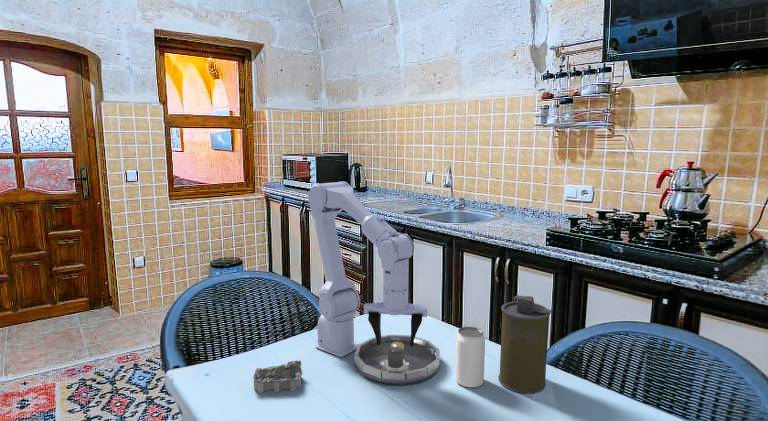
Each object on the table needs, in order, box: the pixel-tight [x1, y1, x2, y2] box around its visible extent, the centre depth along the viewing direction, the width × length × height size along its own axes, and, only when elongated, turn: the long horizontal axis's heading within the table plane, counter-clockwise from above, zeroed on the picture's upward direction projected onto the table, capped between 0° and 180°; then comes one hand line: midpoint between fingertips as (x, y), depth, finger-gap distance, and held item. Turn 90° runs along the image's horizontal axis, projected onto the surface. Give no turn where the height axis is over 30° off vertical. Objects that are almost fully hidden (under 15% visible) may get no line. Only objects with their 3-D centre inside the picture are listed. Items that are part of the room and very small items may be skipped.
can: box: [454, 326, 486, 389], centre depth 104 cm, size 6×6×12 cm
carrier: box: [353, 334, 441, 387], centre depth 113 cm, size 21×21×5 cm
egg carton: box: [252, 360, 303, 394], centre depth 104 cm, size 11×8×4 cm
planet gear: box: [382, 347, 409, 372], centre depth 108 cm, size 6×6×4 cm
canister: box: [498, 295, 553, 395], centre depth 104 cm, size 11×10×20 cm
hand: (395, 343), depth 107 cm, fingers open, 7 cm apart
